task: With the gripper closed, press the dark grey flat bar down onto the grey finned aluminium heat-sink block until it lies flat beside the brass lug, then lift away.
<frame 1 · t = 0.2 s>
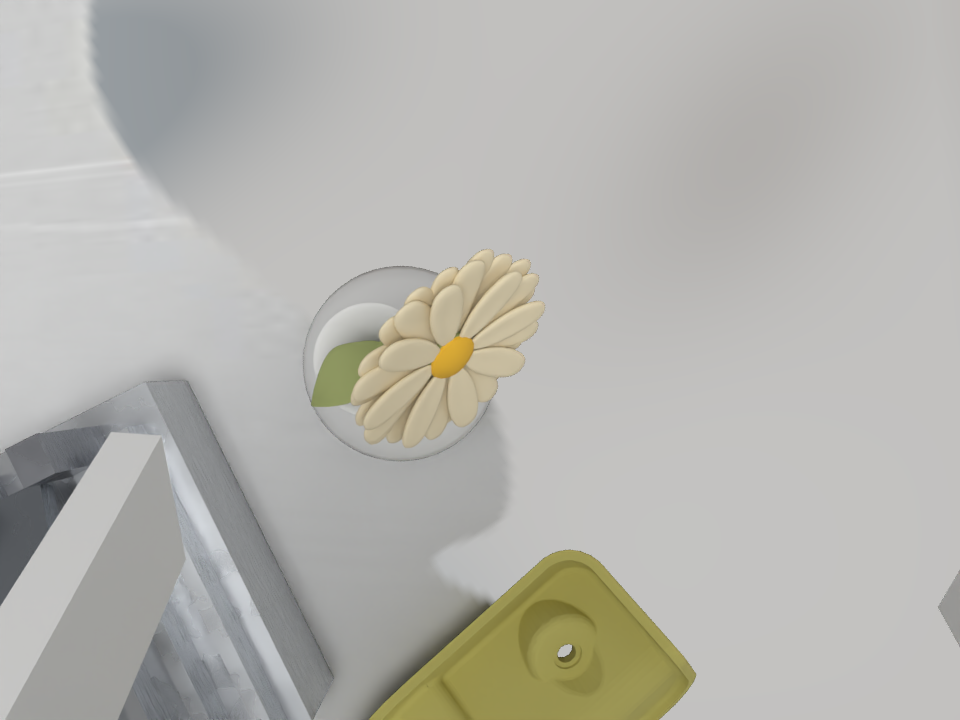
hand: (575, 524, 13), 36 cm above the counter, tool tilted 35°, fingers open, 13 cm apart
plastic component: (510, 696, 49), on the counter
heatsink block: (156, 581, 49), on the counter
flower in vase: (416, 358, 49), on the counter
dark grey flat bar: (34, 673, 35), point 14 cm above the counter, hinge at 25.0°
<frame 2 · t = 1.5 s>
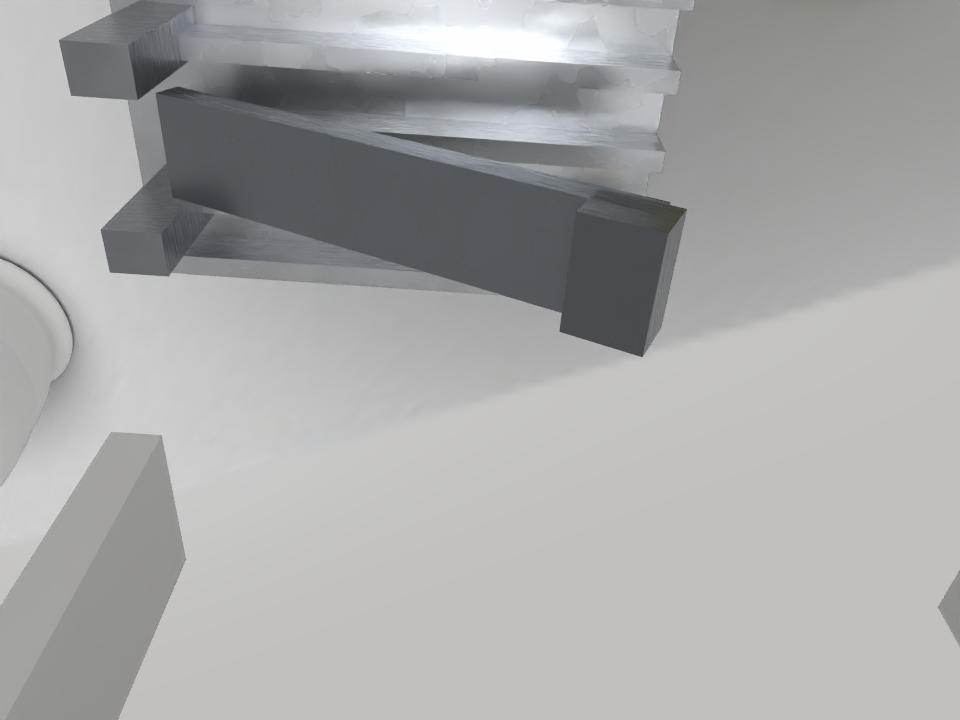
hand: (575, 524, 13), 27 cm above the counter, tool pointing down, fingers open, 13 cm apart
heatsink block: (408, 82, 36), on the counter
dark grey flat bar: (383, 206, 24), point 14 cm above the counter, hinge at 25.0°
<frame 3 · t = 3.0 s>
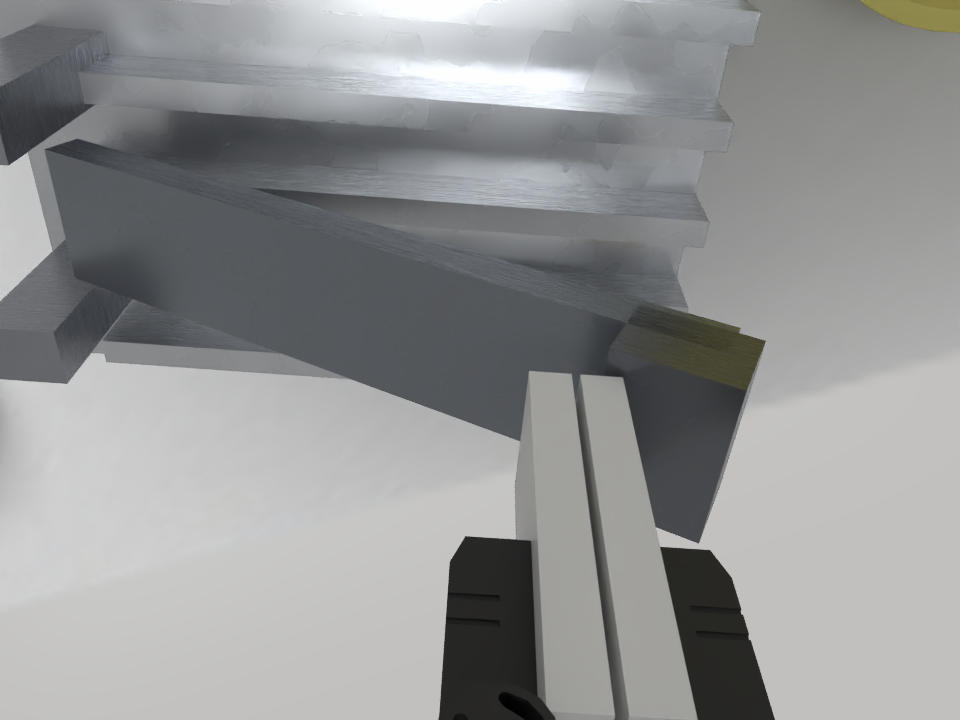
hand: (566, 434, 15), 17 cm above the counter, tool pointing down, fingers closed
heatsink block: (387, 120, 29), on the counter
dark grey flat bar: (341, 310, 18), point 14 cm above the counter, hinge at 25.0°, touching gripper
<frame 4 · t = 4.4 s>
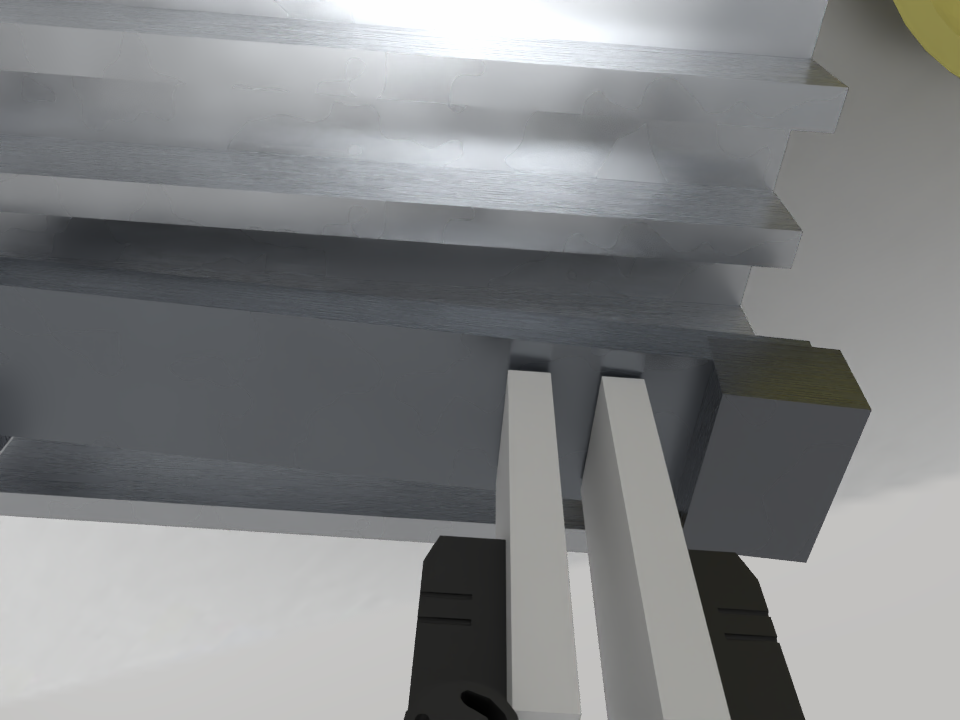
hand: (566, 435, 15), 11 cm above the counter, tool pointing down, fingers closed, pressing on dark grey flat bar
heatsink block: (347, 190, 24), on the counter
dark grey flat bar: (353, 403, 15), point 10 cm above the counter, hinge at 3.8°, touching gripper
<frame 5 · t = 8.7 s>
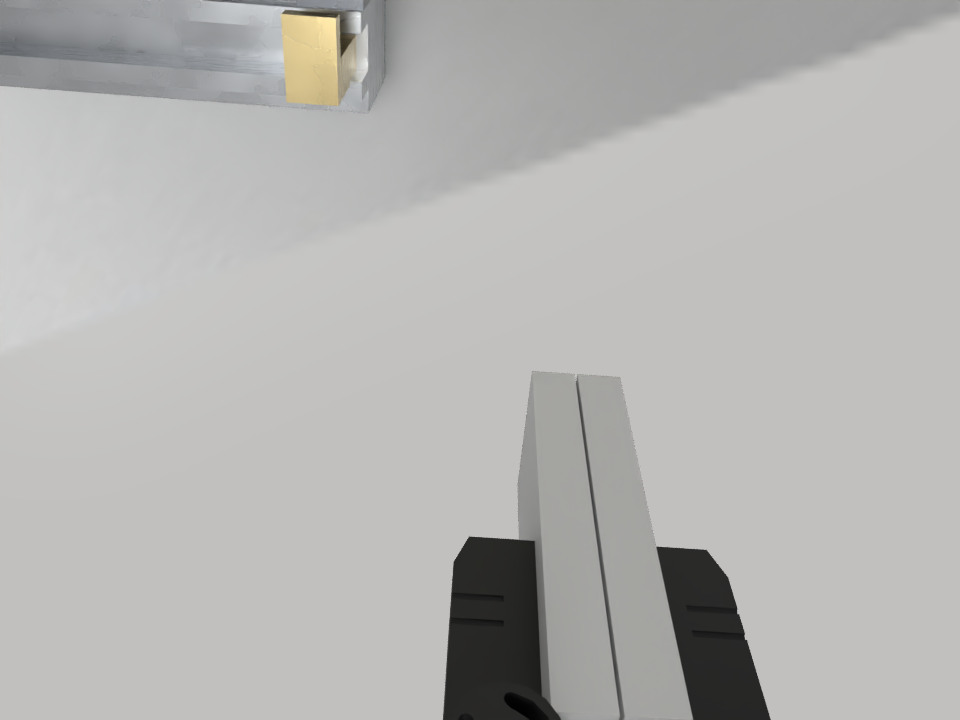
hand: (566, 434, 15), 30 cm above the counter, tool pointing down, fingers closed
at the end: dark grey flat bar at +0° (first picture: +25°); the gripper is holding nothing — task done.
